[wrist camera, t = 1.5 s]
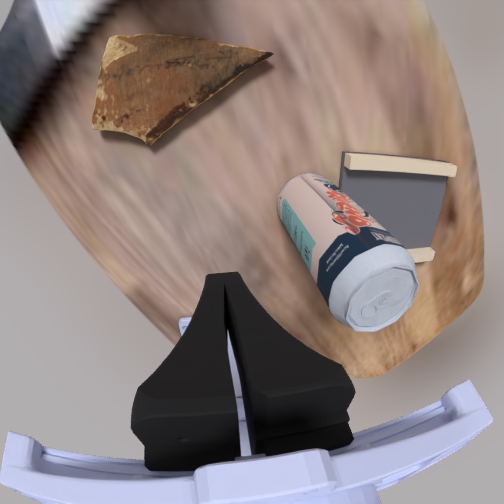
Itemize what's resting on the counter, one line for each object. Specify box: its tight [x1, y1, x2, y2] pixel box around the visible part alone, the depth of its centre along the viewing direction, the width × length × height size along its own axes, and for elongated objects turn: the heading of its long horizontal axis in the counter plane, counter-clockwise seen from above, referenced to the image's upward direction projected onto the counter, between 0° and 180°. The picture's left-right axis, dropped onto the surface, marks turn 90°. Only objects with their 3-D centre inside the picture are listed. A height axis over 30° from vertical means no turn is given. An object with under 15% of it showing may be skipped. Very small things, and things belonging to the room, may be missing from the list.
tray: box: [339, 152, 457, 263], centre depth 23 cm, size 10×12×2 cm
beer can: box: [277, 173, 419, 332], centre depth 17 cm, size 5×5×12 cm
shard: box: [92, 34, 273, 146], centre depth 16 cm, size 11×8×2 cm
